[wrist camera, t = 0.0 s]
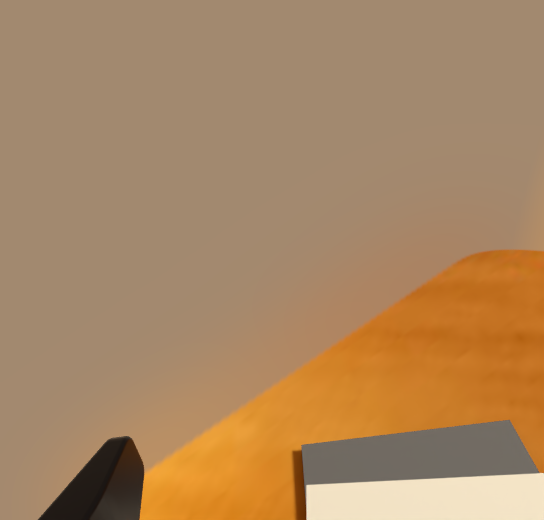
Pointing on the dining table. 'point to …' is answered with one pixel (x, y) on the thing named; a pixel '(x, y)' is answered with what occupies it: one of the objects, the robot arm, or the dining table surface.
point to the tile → (430, 499)
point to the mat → (419, 455)
